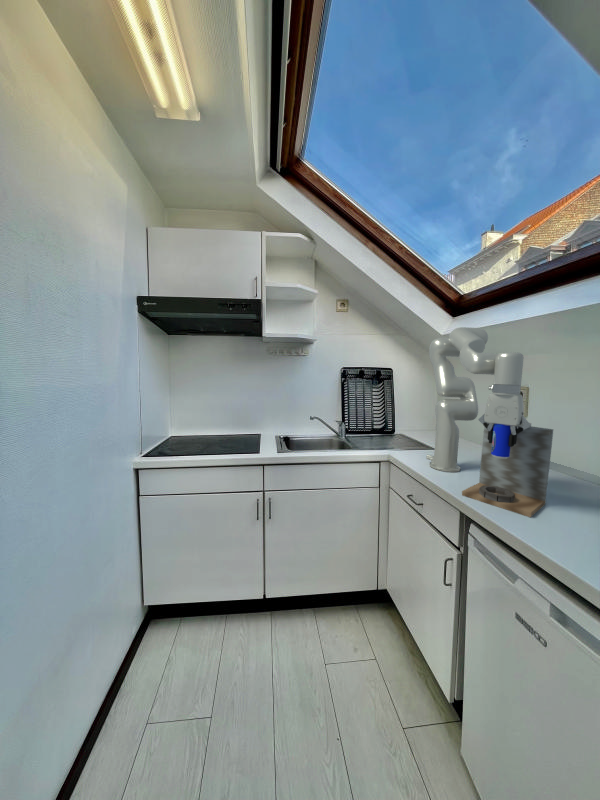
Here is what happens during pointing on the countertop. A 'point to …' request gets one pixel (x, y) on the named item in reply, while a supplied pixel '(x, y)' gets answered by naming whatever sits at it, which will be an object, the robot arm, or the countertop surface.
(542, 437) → the display stand
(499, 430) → the beverage can
